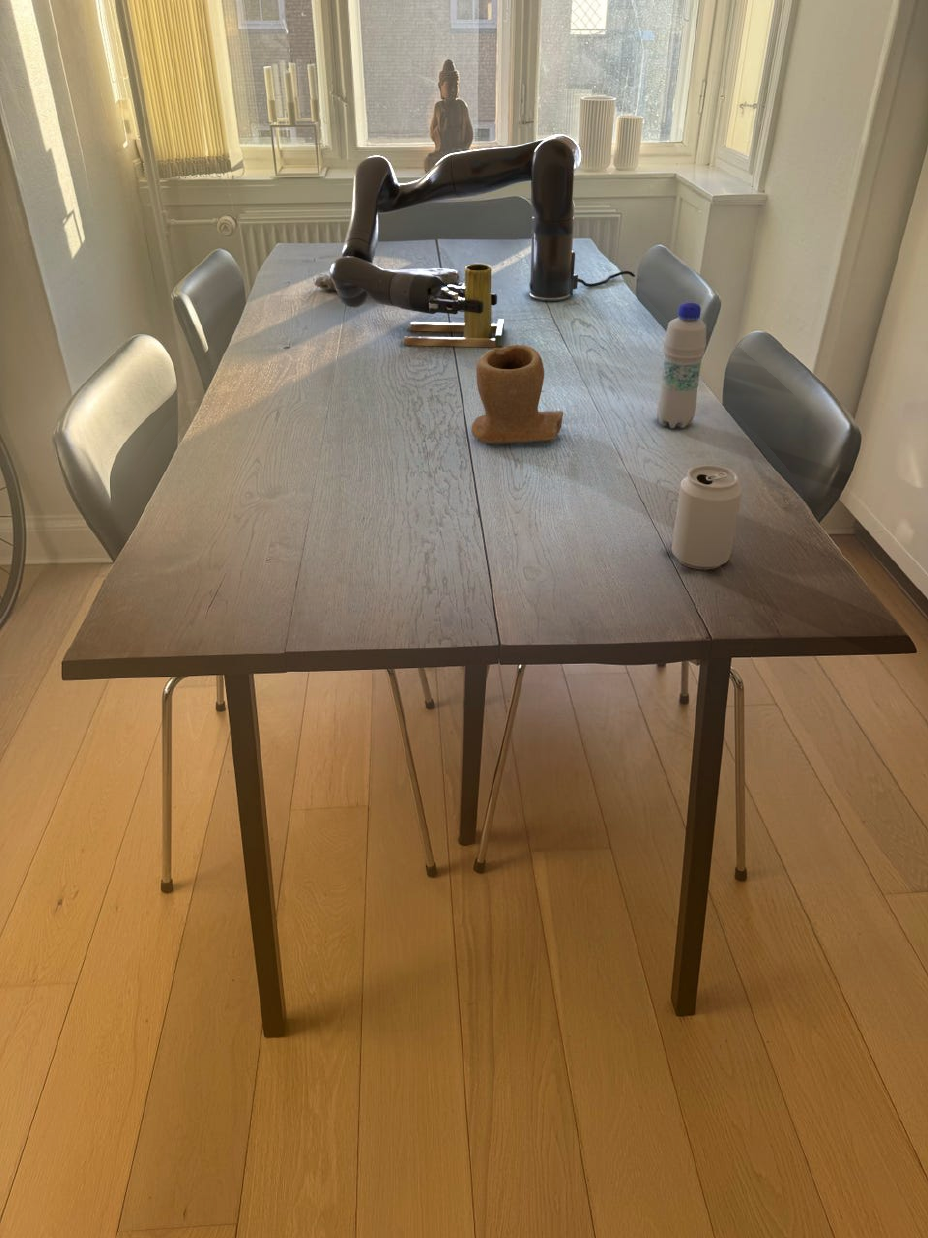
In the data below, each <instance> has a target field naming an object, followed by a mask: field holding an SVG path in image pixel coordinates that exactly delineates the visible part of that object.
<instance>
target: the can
mask: <svg viewBox="0 0 928 1238" xmlns="http://www.w3.org/2000/svg"><path fill="white" fill-rule="evenodd" d="M739 480H740V478H739V474H737V473H736V472H735V471H734V470H732V469H730V468H728V467H724V466H721V465H715V464H701V465H696V466H693V467H691V468H690V469H688V471H687V473H686V477H684V478H683V479H682V480H681V482H680V485H679V493H678V499H677V507H676V513H675V521H674V527H673V528H674V529H673V534H672V540H671V547H670V548H671V553H672V554H673V556H674V557H675V558H676V559H677V560H678V561H679V562H680V563H681V564H682V565H684V566H686V567H689V568H691V569H696V570H705V571H706V570H707V571H708V570H713V569H717V568H719V567H720V566H721V565H724V564H725V563H727V562H728V561H729V560H730V558H731V554H732V550H733V549H732V548H733V542H734V539H735V532H736V528H737V527H736V526H737V521H738V516H739V510H740V504H741V498H742V494H743V488H742V486H741V484H740V483H739Z"/></svg>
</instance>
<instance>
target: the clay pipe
mask: <svg viewBox="0 0 928 1238" xmlns="http://www.w3.org/2000/svg"><path fill="white" fill-rule="evenodd" d="M475 373H476V387H477V391H478V394H479V397H480V401H481V403H482V405H483V408H484V414H483V415H480V416H478V417H476V418H475V419H474V421H473V422H472V424H471V428H470V429H471V435H472V436H473V437H474V438H475V439H477V441H478V442H481V443H485V444H500V445H501V444H526V443H541V442H542V443H543V442H544V443H545V442H552V441H556V440H557V438H558V436H559V433H560V431H561V428H562V424H563V417H564V411H561V410H558V411H539V405H540V399H541V394H542V391H543V385H544V382H545V367H544V361H543V359H542V356H541V355H540V353H539V352H538V351H537V350H536V349H534V348H533V347H530V346H529V345H523V344H509V345H507V346H504V347H501V348H496V347H495V348H492V349H490V350H487V351H486V352H484V354H482V355H481V356H480V357H479V359H478V361H477V363H476V372H475Z"/></svg>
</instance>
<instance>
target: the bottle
mask: <svg viewBox="0 0 928 1238" xmlns="http://www.w3.org/2000/svg"><path fill="white" fill-rule="evenodd" d="M701 310H702V308H701V306H700V304H698V303H696V302H692V301H691V302H683V303H681V304H680V306H679V308H678V313H677V318H674V319H672V320H670V321H669V322H668V324H667V327H666V332H665V336H664V340H663V348H662V351H663V355H664V357H663V366H662V374H661V382H660V390H659V395H658V400H657V405H656V406H657V407H656V418H657V421H659V424H660V425H661V426H663V427H666V426H667V425H669V428H670V429H675V427H676V425H677V424H679V428H680V429H684V428H687V426H690V425H691V424H692V423H693V422H694V418H695V415H696V408H697V397H698V395H697V394H698V386H699V380H700V373H701V365H702V359H703V357H704V355H705V353H706V351H705V349H706V347H707V324H706V323H705V322H704V321H702V320H700V318H701Z"/></svg>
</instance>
